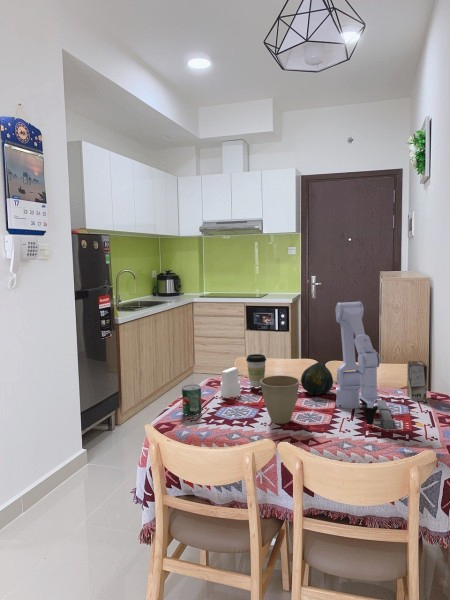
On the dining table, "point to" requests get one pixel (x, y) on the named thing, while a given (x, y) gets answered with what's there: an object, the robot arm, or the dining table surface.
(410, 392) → the coffee box
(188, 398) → the canned tomato
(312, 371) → the squash
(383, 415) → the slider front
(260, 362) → the coffee cup
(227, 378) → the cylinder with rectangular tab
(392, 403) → the dining table surface
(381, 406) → the slider back
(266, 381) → the plant pot
